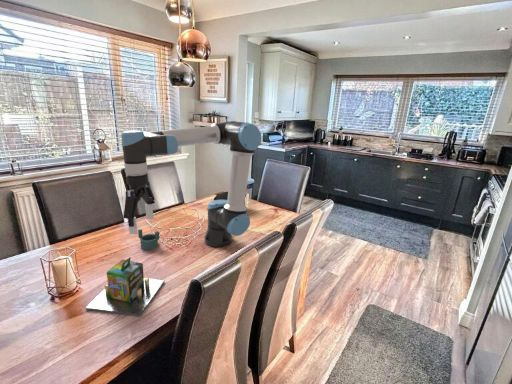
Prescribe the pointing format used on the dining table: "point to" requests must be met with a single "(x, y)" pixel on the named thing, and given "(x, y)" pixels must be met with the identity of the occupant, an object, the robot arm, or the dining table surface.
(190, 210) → the dining table surface
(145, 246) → the green pot
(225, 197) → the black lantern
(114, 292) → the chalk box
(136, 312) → the plate
